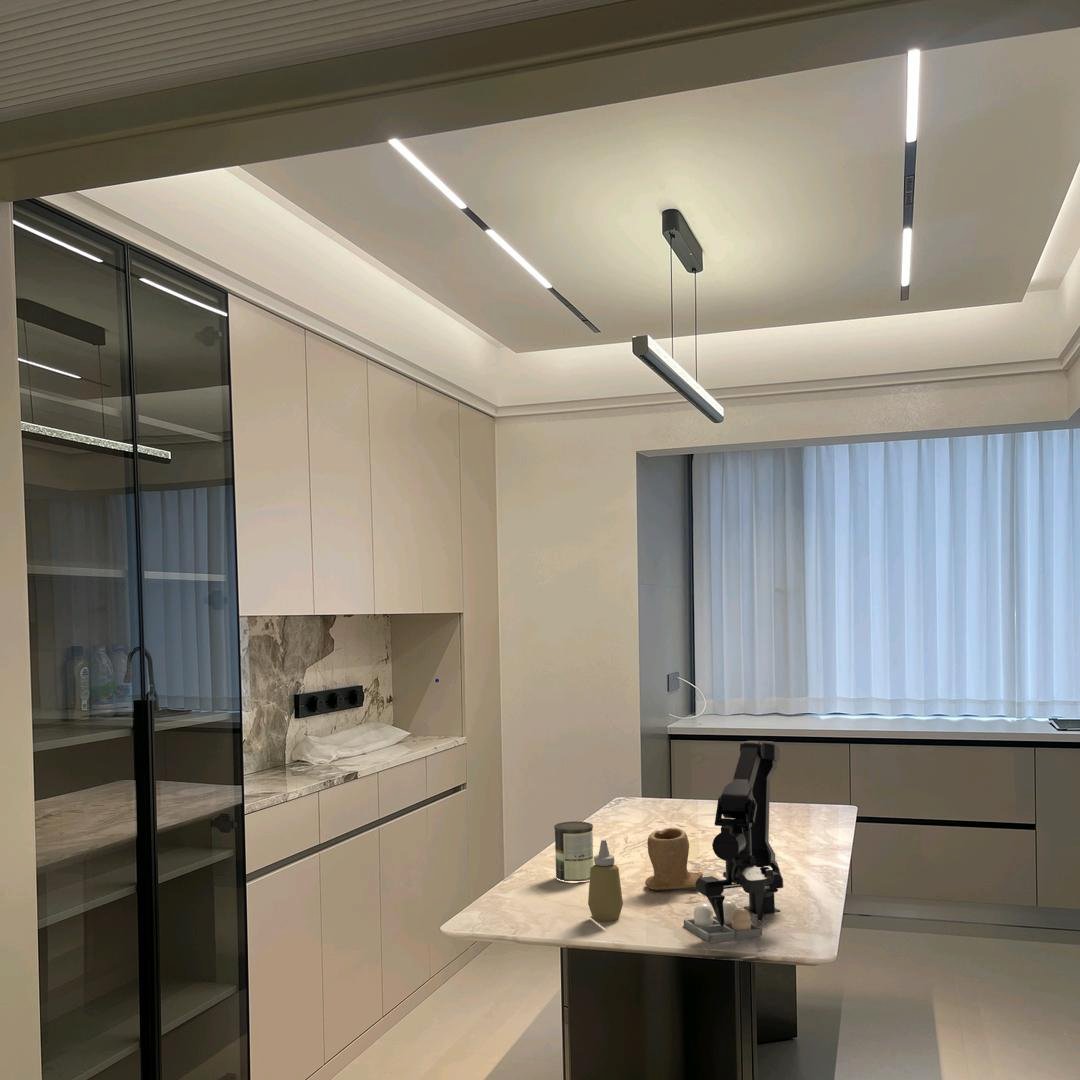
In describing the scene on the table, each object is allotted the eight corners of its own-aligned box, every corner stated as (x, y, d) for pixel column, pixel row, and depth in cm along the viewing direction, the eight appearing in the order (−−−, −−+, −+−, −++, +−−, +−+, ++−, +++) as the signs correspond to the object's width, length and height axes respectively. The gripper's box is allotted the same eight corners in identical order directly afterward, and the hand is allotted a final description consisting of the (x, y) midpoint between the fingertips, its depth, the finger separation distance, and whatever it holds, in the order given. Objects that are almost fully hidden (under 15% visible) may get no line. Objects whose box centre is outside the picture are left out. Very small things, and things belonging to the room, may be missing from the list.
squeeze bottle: (607, 912, 251) (605, 835, 252) (630, 920, 245) (628, 840, 246) (581, 919, 246) (579, 840, 247) (604, 927, 240) (602, 846, 241)
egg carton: (683, 928, 238) (683, 919, 238) (734, 921, 241) (734, 913, 242) (709, 944, 226) (709, 935, 226) (762, 937, 229) (762, 929, 230)
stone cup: (647, 896, 265) (645, 834, 266) (644, 883, 277) (642, 825, 278) (708, 895, 264) (706, 833, 265) (702, 882, 276) (700, 824, 277)
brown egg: (728, 931, 233) (727, 906, 233) (745, 929, 234) (744, 904, 235) (737, 936, 229) (736, 911, 229) (755, 934, 230) (754, 909, 231)
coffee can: (548, 880, 282) (546, 826, 283) (569, 872, 290) (568, 819, 291) (580, 885, 276) (579, 830, 277) (601, 877, 285) (600, 823, 285)
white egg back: (691, 926, 237) (690, 902, 237) (708, 924, 238) (707, 900, 238) (699, 932, 233) (698, 907, 233) (716, 929, 234) (715, 905, 234)
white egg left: (715, 923, 239) (714, 899, 239) (732, 921, 240) (731, 897, 240) (724, 928, 235) (723, 904, 235) (741, 926, 236) (740, 902, 236)
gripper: (716, 862, 222) (719, 938, 221) (795, 853, 228) (798, 928, 227) (693, 851, 233) (695, 924, 232) (768, 843, 239) (771, 914, 238)
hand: (740, 923), depth 232 cm, fingers open, 9 cm apart
